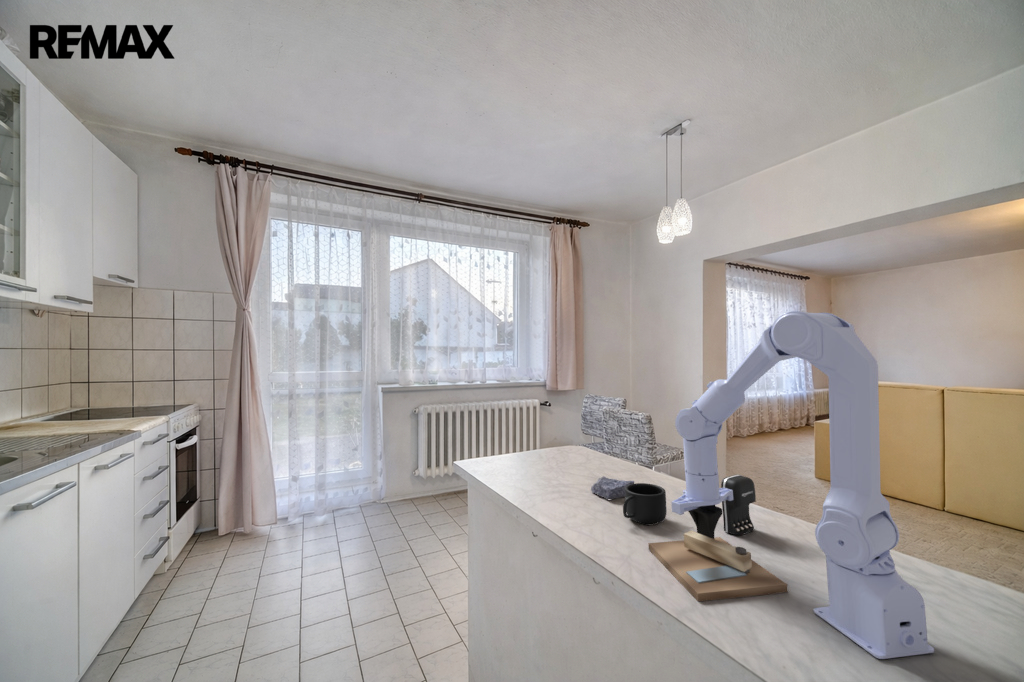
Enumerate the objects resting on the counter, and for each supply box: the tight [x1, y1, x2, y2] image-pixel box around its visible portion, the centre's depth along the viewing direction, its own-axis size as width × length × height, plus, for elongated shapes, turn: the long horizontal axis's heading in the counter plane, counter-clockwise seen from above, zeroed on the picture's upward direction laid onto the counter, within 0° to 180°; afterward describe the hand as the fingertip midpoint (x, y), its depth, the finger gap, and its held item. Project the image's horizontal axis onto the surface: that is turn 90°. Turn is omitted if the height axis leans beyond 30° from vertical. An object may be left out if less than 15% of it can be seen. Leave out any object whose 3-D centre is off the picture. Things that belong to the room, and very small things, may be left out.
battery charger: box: [720, 474, 757, 536], centre depth 85 cm, size 7×4×11 cm, turn 117°
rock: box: [590, 476, 635, 500], centre depth 110 cm, size 12×5×10 cm
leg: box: [683, 530, 752, 572], centre depth 71 cm, size 11×2×3 cm, turn 33°
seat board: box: [648, 536, 789, 602], centre depth 70 cm, size 17×15×2 cm
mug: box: [622, 482, 668, 526], centre depth 91 cm, size 12×9×7 cm
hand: (706, 545), depth 75 cm, fingers closed, pressing on leg
